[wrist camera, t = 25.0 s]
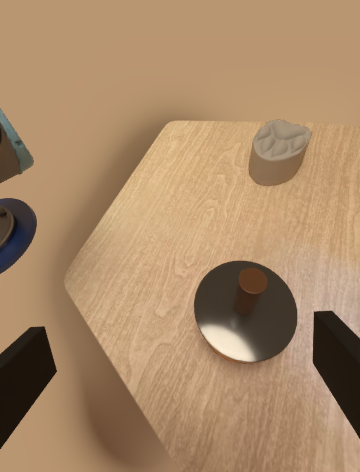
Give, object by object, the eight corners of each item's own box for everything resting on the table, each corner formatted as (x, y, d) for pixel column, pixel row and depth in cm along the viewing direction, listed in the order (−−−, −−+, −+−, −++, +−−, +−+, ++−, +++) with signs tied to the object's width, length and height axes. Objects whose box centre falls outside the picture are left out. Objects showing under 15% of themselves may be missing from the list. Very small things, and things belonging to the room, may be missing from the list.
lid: (189, 353, 29) (176, 342, 20) (200, 260, 35) (194, 221, 27) (299, 371, 26) (339, 367, 18) (290, 268, 33) (316, 227, 24)
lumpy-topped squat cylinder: (306, 156, 55) (320, 122, 48) (281, 193, 51) (292, 161, 43) (265, 143, 59) (272, 109, 52) (238, 175, 55) (241, 144, 48)
